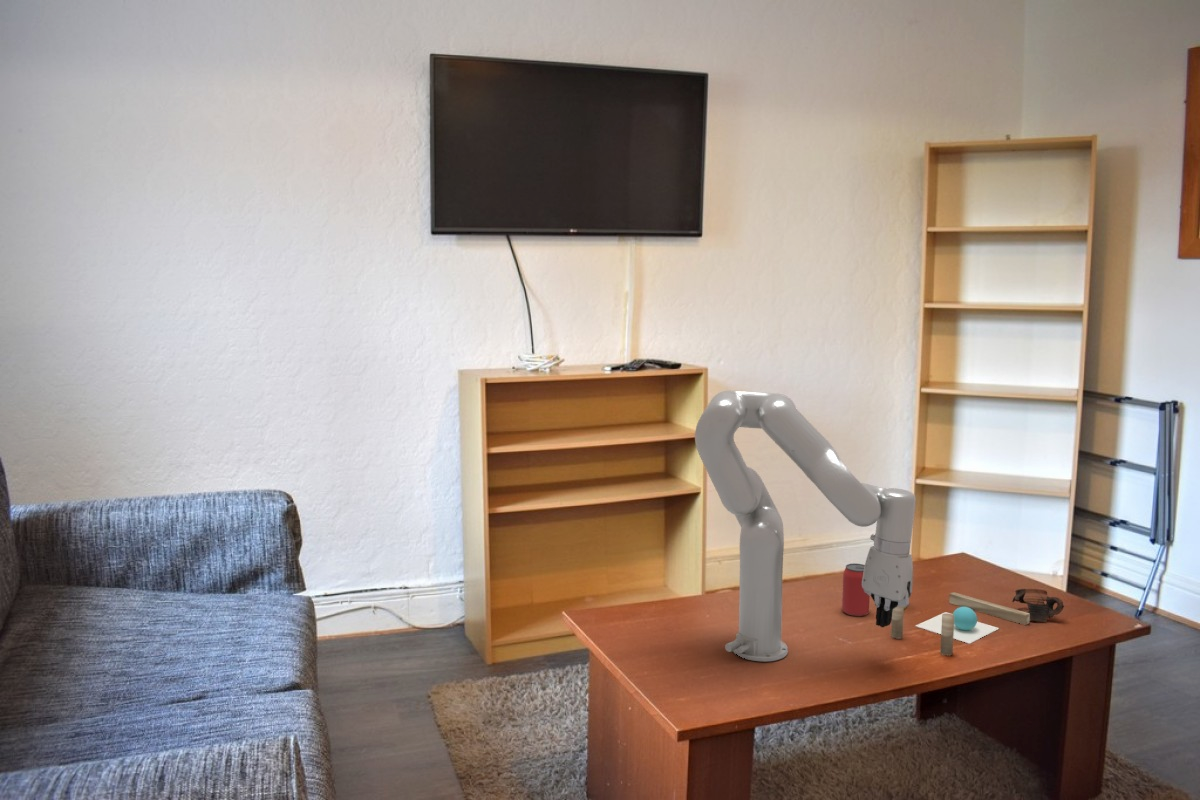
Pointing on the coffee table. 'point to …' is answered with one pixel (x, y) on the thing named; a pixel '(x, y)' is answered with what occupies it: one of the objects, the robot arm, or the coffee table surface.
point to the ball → (965, 618)
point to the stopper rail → (989, 608)
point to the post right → (947, 634)
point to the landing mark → (960, 635)
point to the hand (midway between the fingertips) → (882, 624)
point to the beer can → (854, 591)
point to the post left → (897, 622)
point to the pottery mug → (1038, 604)
